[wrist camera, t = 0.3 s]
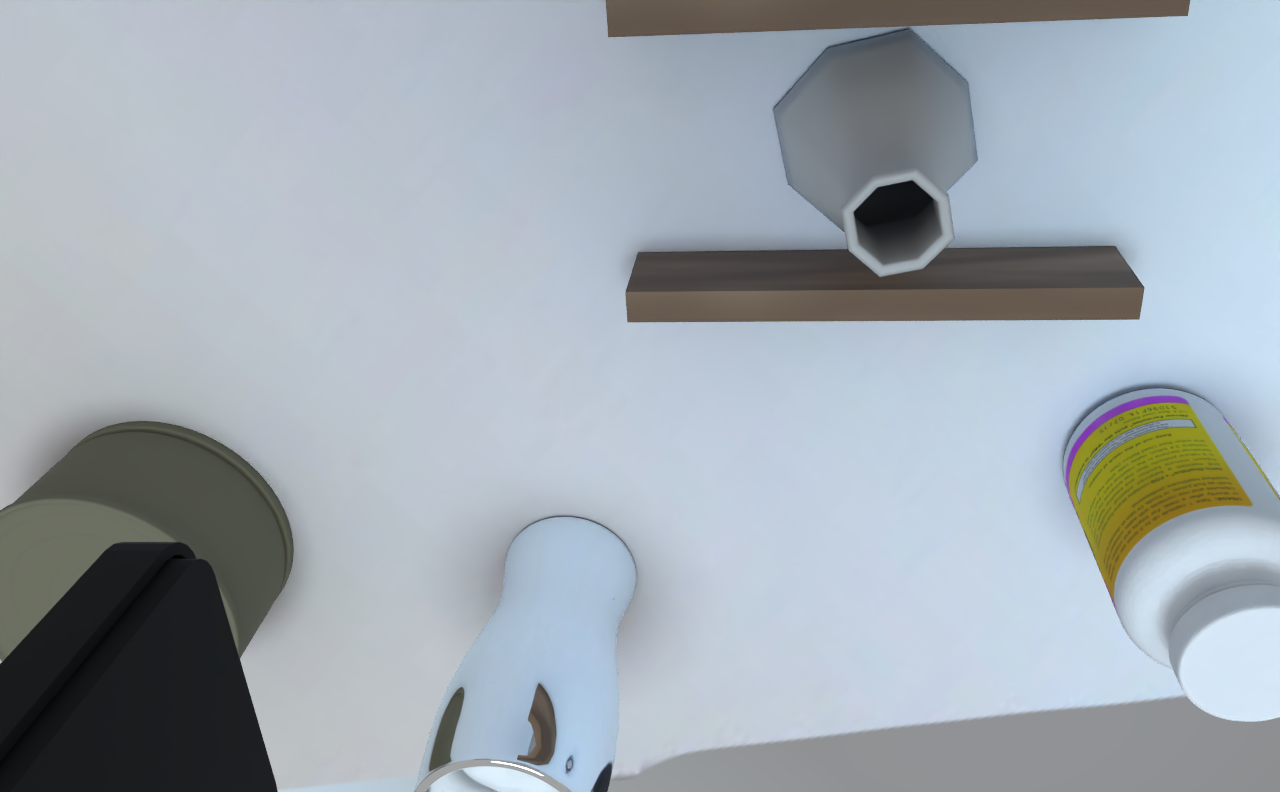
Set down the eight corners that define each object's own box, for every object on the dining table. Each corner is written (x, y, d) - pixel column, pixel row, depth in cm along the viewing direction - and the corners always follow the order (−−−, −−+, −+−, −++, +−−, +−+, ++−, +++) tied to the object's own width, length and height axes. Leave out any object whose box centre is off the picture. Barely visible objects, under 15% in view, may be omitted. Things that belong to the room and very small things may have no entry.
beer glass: (615, 648, 55) (561, 922, 42) (479, 598, 54) (380, 858, 41) (668, 540, 52) (628, 799, 38) (523, 485, 51) (432, 728, 38)
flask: (920, -10, 40) (958, 48, 31) (1010, 166, 42) (1069, 266, 33) (739, 99, 42) (726, 182, 33) (834, 259, 44) (845, 376, 36)
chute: (621, -20, 40) (605, -2, 37) (1157, -44, 38) (1194, -26, 35) (639, 280, 46) (627, 322, 42) (1110, 276, 43) (1139, 319, 40)
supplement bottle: (1025, 476, 48) (1099, 688, 37) (1130, 353, 45) (1245, 544, 34) (1157, 546, 49) (1267, 775, 38) (1268, 431, 46) (1425, 642, 35)
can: (238, 396, 51) (164, 479, 45) (335, 610, 56) (280, 710, 50) (7, 438, 53) (-92, 522, 47) (121, 639, 58) (44, 738, 52)
